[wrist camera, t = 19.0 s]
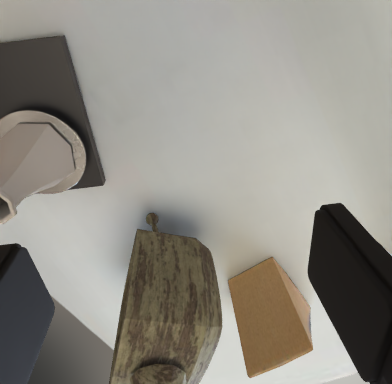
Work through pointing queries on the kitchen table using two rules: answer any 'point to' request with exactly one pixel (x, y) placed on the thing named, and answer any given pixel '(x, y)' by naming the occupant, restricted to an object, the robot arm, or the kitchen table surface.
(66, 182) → the weighing pan
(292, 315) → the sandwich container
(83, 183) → the scale
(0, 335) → the robot arm
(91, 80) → the kitchen table surface
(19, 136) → the flask
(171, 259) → the tabletop clock
